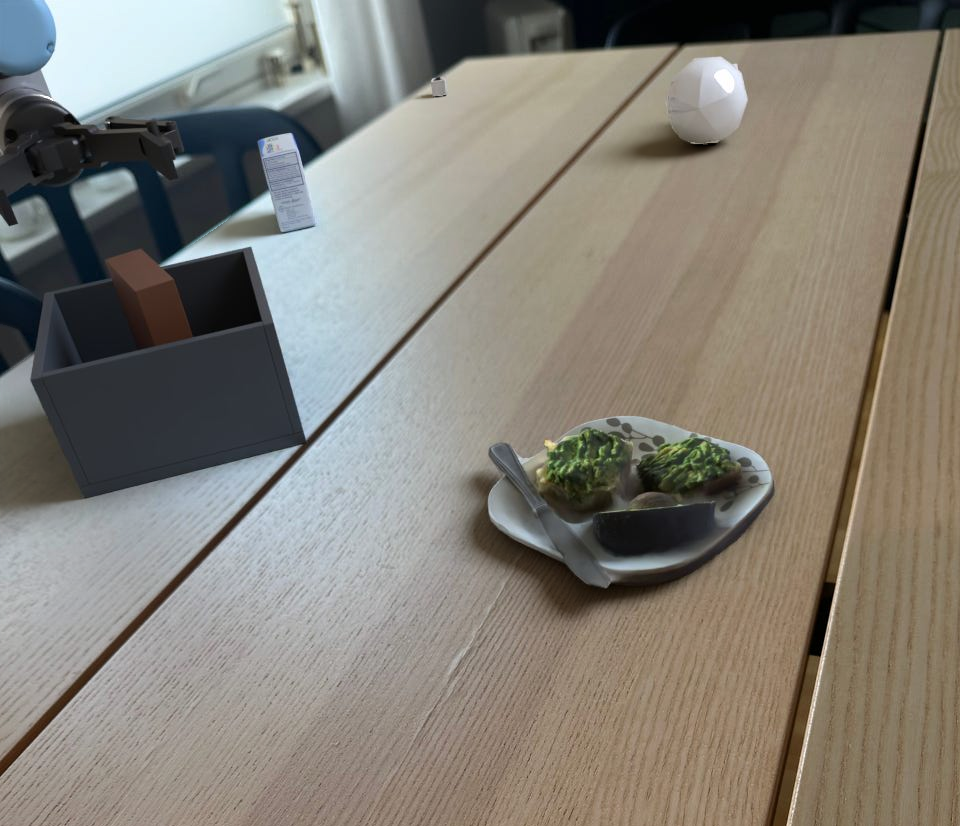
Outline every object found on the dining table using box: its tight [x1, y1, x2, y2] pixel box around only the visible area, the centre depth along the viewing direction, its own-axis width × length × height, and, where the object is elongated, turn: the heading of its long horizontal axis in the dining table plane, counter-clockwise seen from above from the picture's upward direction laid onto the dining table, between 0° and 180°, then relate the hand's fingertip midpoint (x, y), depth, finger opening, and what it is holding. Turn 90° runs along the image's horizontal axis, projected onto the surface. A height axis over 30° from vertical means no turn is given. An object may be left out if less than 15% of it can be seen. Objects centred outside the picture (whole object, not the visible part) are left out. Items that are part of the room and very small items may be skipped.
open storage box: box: [29, 246, 307, 499], centre depth 83 cm, size 18×18×10 cm
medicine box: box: [257, 132, 317, 233], centre depth 119 cm, size 8×4×9 cm, turn 13°
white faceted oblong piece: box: [665, 56, 749, 143], centre depth 123 cm, size 9×10×15 cm
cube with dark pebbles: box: [430, 76, 448, 97], centre depth 158 cm, size 2×2×2 cm
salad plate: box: [487, 415, 776, 589], centre depth 67 cm, size 19×18×5 cm
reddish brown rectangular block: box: [104, 248, 193, 350], centre depth 81 cm, size 3×9×12 cm, turn 30°
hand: (90, 184), depth 83 cm, fingers open, 13 cm apart
